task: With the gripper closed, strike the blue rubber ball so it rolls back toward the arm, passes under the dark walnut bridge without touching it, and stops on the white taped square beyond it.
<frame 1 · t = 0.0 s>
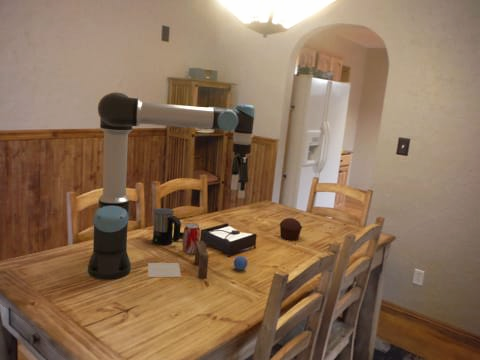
hand: (237, 193, 167), 28 cm above the table, tool pointing down, fingers open, 13 cm apart
muffin: (289, 238, 202), on the table
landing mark: (164, 270, 153), on the table
bridge: (200, 269, 156), on the table
soda can: (190, 252, 173), on the table
ball: (240, 263, 159), on the table
milk frother: (170, 241, 183), on the table
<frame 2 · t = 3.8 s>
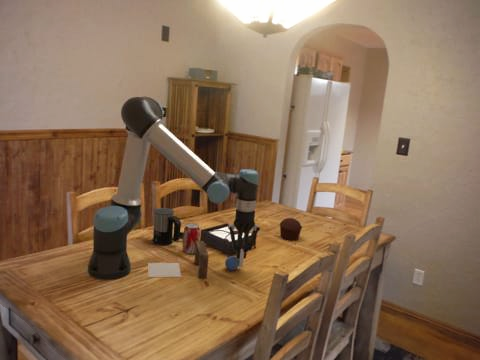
hand: (240, 265, 160), 2 cm above the table, tool pointing down, fingers closed
ball: (232, 263, 158), on the table
everything else where it was.
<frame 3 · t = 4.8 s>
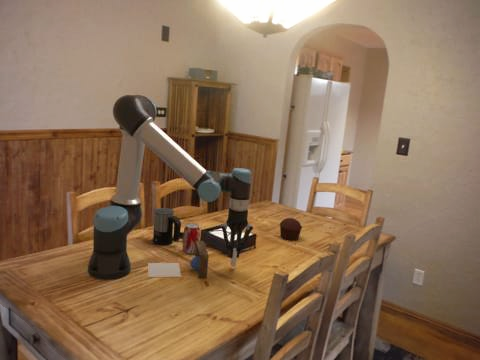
hand: (233, 265, 159), 2 cm above the table, tool pointing down, fingers closed
ball: (197, 263, 155), on the table
everything else where it was.
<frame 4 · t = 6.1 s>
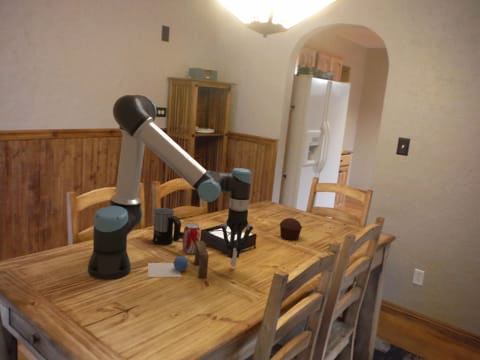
hand: (233, 265, 159), 2 cm above the table, tool pointing down, fingers closed
ball: (180, 263, 154), on the table
everything else where it was.
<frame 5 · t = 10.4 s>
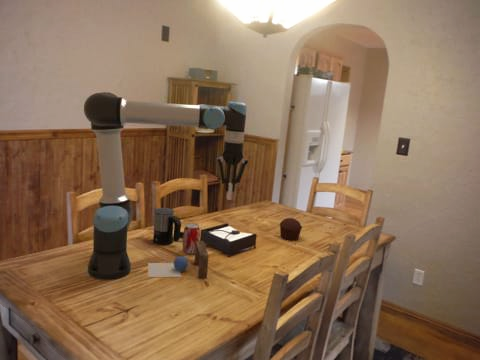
hand: (228, 199, 163), 26 cm above the table, tool pointing down, fingers closed
nothing on the table moved.
at the end: ball 6.2 cm from the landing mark (horizontally); ball never touched bridge; ball at rest at the end (0.0 cm/s) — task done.
